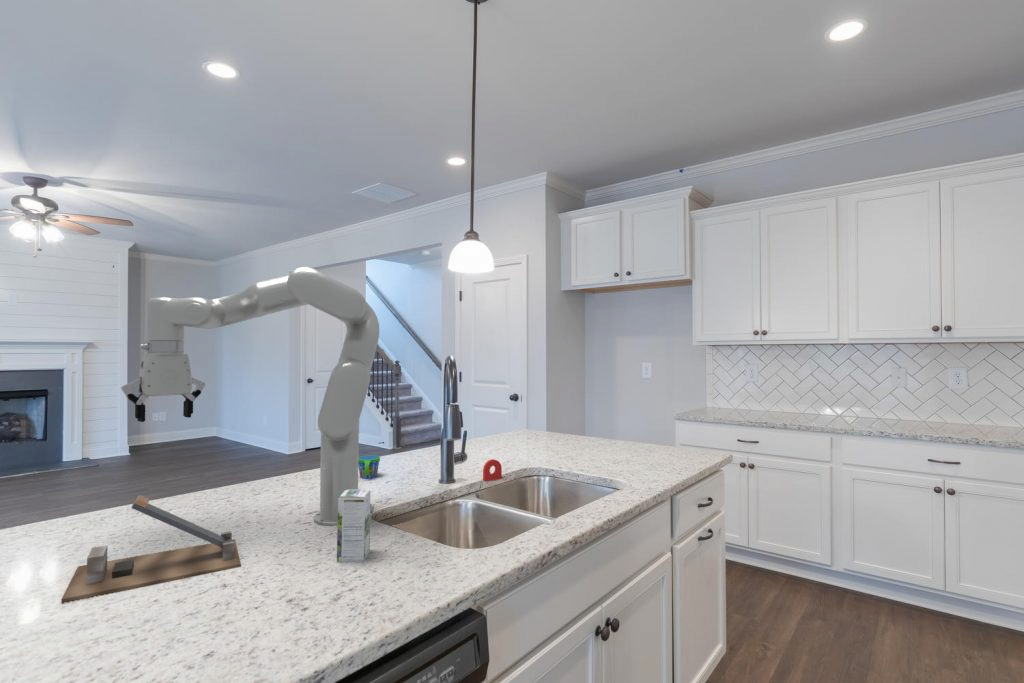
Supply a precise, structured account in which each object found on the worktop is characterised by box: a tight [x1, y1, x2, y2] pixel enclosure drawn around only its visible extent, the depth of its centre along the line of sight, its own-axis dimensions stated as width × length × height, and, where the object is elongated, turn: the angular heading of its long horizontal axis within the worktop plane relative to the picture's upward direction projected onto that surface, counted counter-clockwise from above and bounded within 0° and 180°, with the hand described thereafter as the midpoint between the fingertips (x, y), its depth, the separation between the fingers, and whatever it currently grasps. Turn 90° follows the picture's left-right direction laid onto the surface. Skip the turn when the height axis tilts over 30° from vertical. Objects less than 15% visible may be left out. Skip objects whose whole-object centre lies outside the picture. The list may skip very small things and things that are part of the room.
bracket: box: [482, 458, 503, 482], centre depth 174 cm, size 12×4×8 cm, turn 126°
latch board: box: [60, 531, 242, 604], centre depth 105 cm, size 28×16×6 cm, turn 122°
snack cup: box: [358, 454, 381, 480], centre depth 179 cm, size 11×8×7 cm
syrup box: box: [336, 488, 372, 563], centre depth 110 cm, size 6×6×14 cm
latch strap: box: [131, 494, 232, 548], centre depth 107 cm, size 21×5×2 cm
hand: (164, 419), depth 125 cm, fingers open, 9 cm apart
